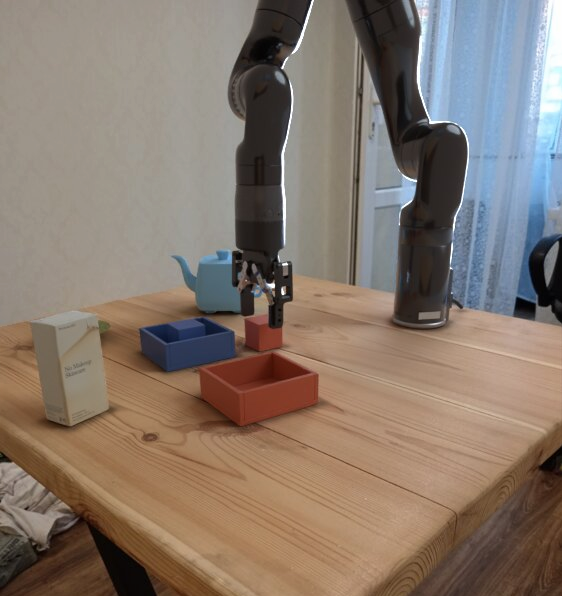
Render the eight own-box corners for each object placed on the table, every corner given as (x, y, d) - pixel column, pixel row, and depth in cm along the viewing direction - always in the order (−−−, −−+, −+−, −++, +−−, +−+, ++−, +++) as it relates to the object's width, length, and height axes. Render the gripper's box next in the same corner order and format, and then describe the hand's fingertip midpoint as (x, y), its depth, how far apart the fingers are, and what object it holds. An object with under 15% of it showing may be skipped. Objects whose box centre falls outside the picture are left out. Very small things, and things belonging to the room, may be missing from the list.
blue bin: (205, 339, 96) (204, 316, 94) (235, 356, 88) (234, 331, 86) (141, 352, 90) (138, 327, 89) (167, 372, 82) (164, 345, 81)
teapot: (179, 300, 121) (175, 245, 116) (265, 300, 120) (263, 244, 116) (167, 316, 109) (162, 256, 105) (262, 316, 109) (261, 255, 105)
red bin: (273, 378, 79) (273, 350, 78) (318, 403, 72) (318, 373, 70) (200, 397, 74) (198, 367, 72) (240, 426, 66) (239, 394, 64)
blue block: (194, 344, 92) (192, 318, 90) (206, 352, 88) (205, 324, 86) (168, 350, 89) (166, 322, 88) (180, 358, 86) (178, 329, 84)
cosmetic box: (69, 428, 66) (53, 326, 61) (44, 419, 68) (27, 321, 64) (111, 408, 71) (99, 313, 66) (87, 401, 73) (73, 308, 69)
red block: (268, 339, 96) (267, 314, 94) (282, 346, 92) (282, 320, 91) (245, 344, 93) (244, 318, 92) (259, 351, 90) (258, 324, 88)
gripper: (308, 219, 82) (306, 328, 88) (256, 211, 93) (257, 308, 99) (263, 222, 78) (264, 336, 84) (215, 213, 89) (219, 314, 95)
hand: (261, 321), depth 91 cm, fingers open, 8 cm apart
